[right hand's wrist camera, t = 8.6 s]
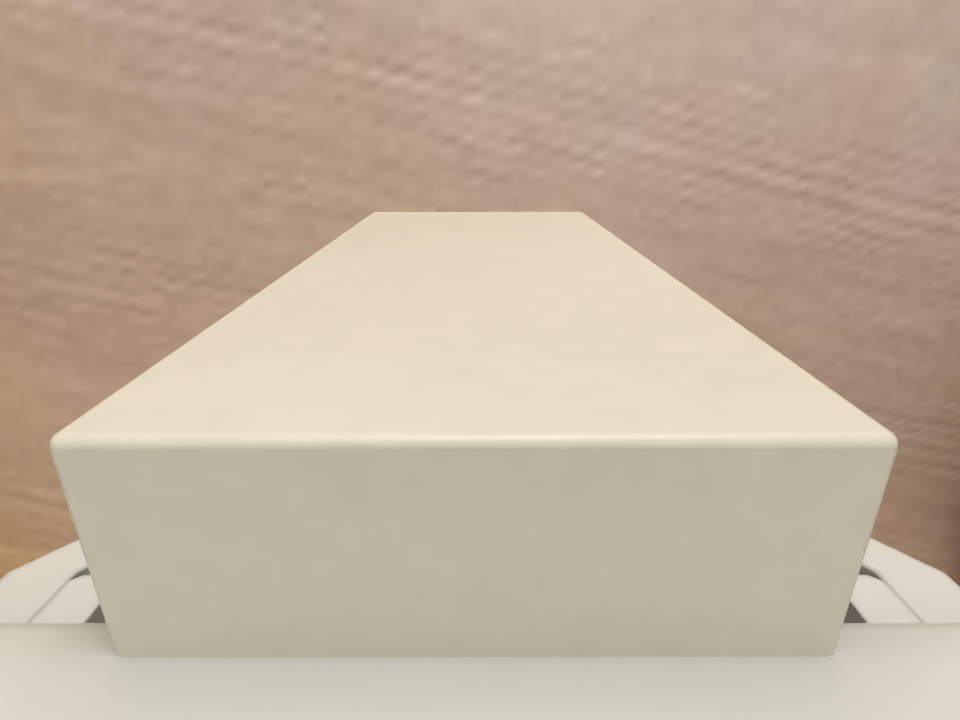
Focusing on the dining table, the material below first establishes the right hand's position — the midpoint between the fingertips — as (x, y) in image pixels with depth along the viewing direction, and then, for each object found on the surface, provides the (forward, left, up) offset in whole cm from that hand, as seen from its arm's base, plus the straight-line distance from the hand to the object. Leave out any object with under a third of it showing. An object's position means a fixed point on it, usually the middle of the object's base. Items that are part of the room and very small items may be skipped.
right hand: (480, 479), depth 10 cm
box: (+2, +6, -8) cm, 10 cm away
